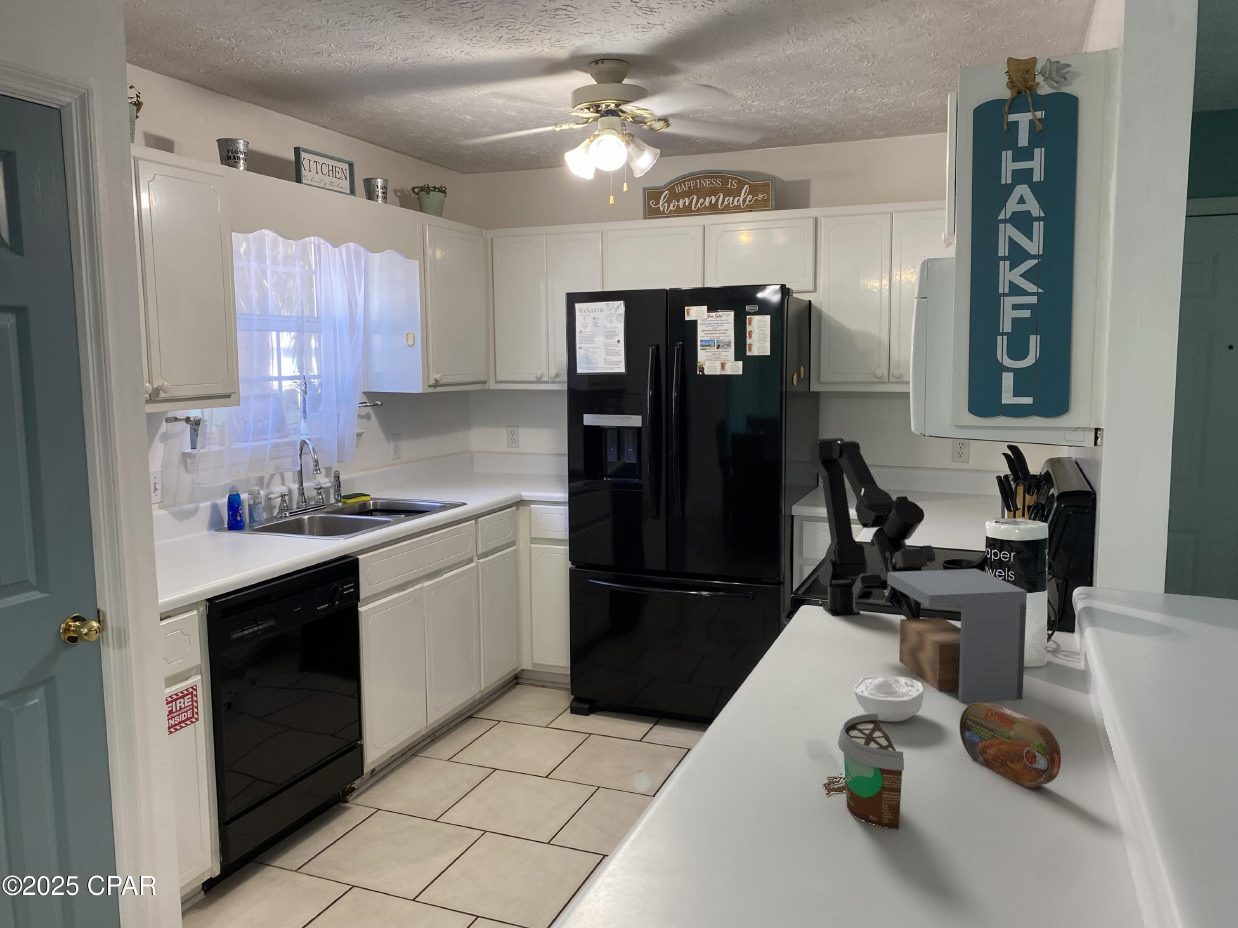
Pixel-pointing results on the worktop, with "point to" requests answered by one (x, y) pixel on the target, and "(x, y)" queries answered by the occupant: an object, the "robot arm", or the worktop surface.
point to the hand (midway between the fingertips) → (917, 624)
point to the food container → (871, 771)
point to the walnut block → (931, 650)
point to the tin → (1010, 744)
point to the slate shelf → (978, 627)
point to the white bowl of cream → (889, 696)
